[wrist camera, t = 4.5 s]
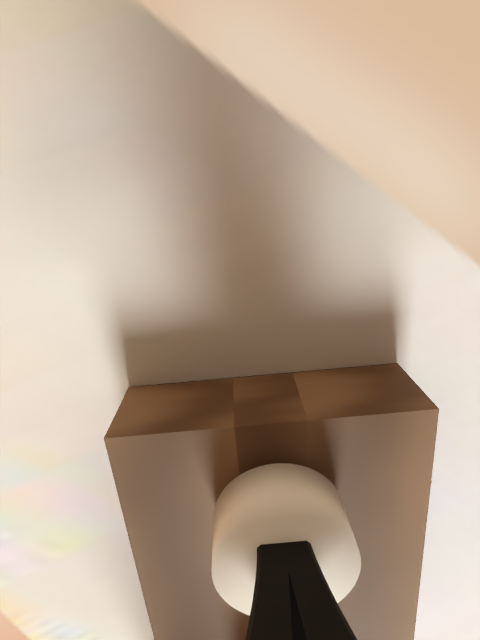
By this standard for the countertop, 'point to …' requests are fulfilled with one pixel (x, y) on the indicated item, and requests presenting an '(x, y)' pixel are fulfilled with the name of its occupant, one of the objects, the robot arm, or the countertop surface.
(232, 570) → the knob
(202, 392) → the block
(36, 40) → the countertop surface
